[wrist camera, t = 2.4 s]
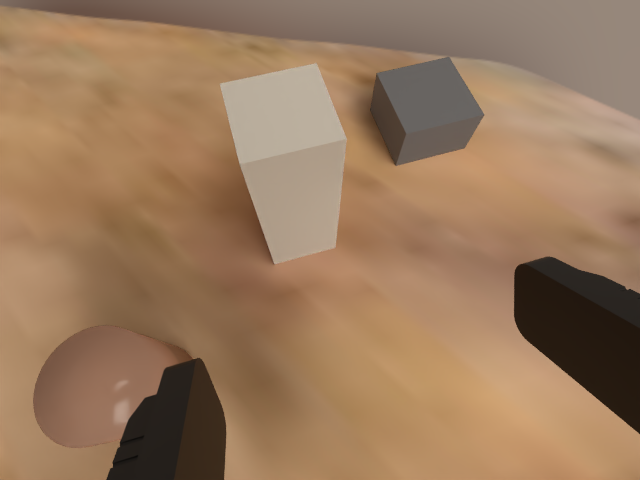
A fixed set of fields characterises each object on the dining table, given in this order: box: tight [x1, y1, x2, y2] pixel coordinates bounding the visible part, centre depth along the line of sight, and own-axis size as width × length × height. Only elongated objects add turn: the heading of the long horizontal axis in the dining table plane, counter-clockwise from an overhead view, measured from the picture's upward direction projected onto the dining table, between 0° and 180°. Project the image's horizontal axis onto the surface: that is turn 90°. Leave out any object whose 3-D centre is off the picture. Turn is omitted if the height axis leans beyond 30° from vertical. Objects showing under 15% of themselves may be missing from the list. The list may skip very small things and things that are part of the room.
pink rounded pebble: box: [33, 325, 193, 448], centre depth 19 cm, size 5×5×7 cm
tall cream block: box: [220, 63, 347, 264], centre depth 21 cm, size 4×4×12 cm
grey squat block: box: [370, 57, 484, 166], centre depth 29 cm, size 6×6×4 cm
